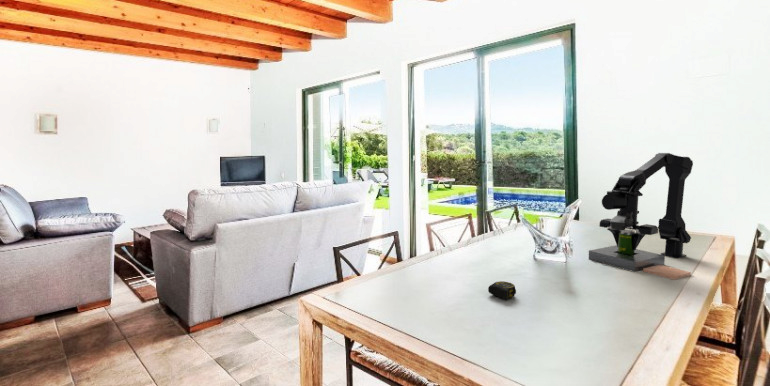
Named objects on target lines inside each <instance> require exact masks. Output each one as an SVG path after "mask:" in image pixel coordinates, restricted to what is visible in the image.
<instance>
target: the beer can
mask: <svg viewBox="0 0 770 386" xmlns="http://www.w3.org/2000/svg"><path fill="white" fill-rule="evenodd" d="M633 233H636V230H632V229H626V228H625V230H620V232H619V240H618V253H619V254H623V255H627V256H632V255H634V250H633V241H634V236H633Z"/></svg>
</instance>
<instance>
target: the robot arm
mask: <svg viewBox="0 0 770 386" xmlns="http://www.w3.org/2000/svg"><path fill="white" fill-rule="evenodd" d="M693 164H694V162H693V160H692V159H691V158H690V157H689V156H680V155H676V154H674V153H670V152H658V153H656V154H655V155H654V157H652V158H651V159H649V160H648V161H647V162H645V163H644V164H642V165H641V166H640V167H638V168H637V169H635V170H632V171H628V172H625V173H623V174H620V176H619V177H618V180H617V181H616V183H615V185H613V188H612V190H608V191H606V194H604V196H603V197H602V199H601V206H602V207H603V208H604V209H605V210H608V211H609V210H610V211H611V210H617V212H616V213H617V214H616V216H614V217H613V218H603V219H601V220H600V221H599V224H598V225H599V227H600V228H606V229H607V231H609V232H610V233H611V234H612V235H613V238H614V242H615V243H616V245H617V247H618V240H619V232H620V230H625V229H627V230H633V231H635V233H633V236H634V241H633V250H636V249H637V248H638V247H639V245H640V244H641V241H642V240H643V238H644V237H645V236H647V235H648V236H652V235H656V234H658V233H659V238H660V239H661V240H665V248H664V249H665V251H664V252H661V253H660V254H661V255H665V257H670V258H675V259H680V258H686V257H687V254H684V253H683V250H684V244H688V243H690V241H691V239H692V237H691V234H689V232H688V231H687V230H686V223H685V220H684V218H683V216H682V210H683V203H684V201H683V200H684V191H685V183H686V180H687V178H688V177H689V176H690V175H691V173H692V169H693V166H694V165H693ZM663 168H664V169H665V171H664V172H665V174H666V176H667V177H668V187H667V189H668V190H667V196H666V197H667V198H666V209H665V215H664V216H663V217H662V218H659V219H658V225H653V224H647V223H646V224H642V225H639V221H638V214H640V211H639V210H638V209H639V208H638V207H639V197H643V196H644V194H643V193H642V192H640V191H641V189H642V188H644V186H645V185H646V184H647V180H648V179H649V178H650V177H651V176H653V175H654V174H656V173H657V172H658V171H660V170H661V169H663Z"/></svg>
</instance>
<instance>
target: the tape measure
mask: <svg viewBox="0 0 770 386" xmlns="http://www.w3.org/2000/svg"><path fill="white" fill-rule="evenodd" d="M487 291H488V293H489V294H490V295H493V296H495V297H498V298H500V299H504V300H509V299H513V297H515V295H516V294H517V289H516V286H515V284H513V283H512V282H508V281H495V282H493V283H491V284H490V285H489V286H488V289H487Z"/></svg>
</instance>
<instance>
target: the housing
mask: <svg viewBox="0 0 770 386" xmlns="http://www.w3.org/2000/svg"><path fill="white" fill-rule="evenodd" d="M665 257H666V255H661V253H656V252H651V251H646V250H641V249H637V248H636V250H634V255H632V256H627V255H623V254H619V253H618V247H617V244H616V245H611V246H606V247H605V246H604V247H600V248H596V249H594V248H593V249H590V250H588V260H590V261H594V262H598V263H601V264H604V265H609V266H611V267H615V266H616V268H619V267H620V268H619V269H623V268H624V269H623V270H626V269H627V270H626V271H630V270H631V271H632V272H634V273H635V272H640V271H643V269H644V268H648V267H652V266H656V265H663V266H665V259H666V258H665ZM631 271H630V272H631Z"/></svg>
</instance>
